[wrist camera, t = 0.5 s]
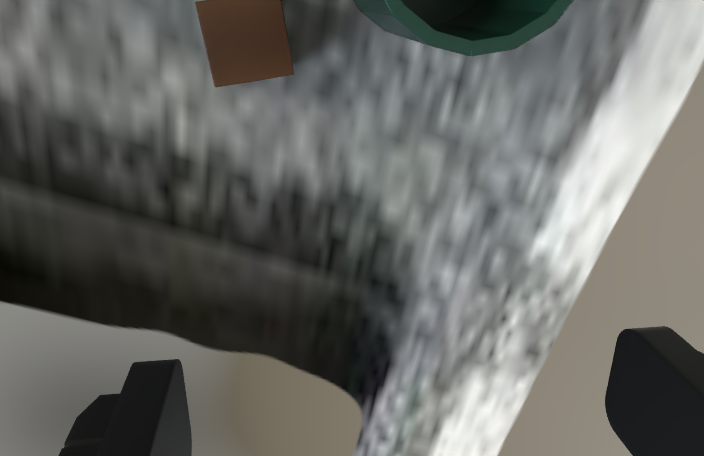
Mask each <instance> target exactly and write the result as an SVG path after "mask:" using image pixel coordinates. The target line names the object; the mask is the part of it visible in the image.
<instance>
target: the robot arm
mask: <svg viewBox="0 0 704 456" xmlns="http://www.w3.org/2000/svg"><path fill="white" fill-rule="evenodd" d="M605 407H606V413H607V417H608V420H609V422H610V425H611V427H612V428H613V430H614V432H615V433H616V434H617V436H618V437H619V438H620V440H621V441H622V442H623V444H624V445H625V446H626V448H627V449H628V450H629V451H630V453H631V454H632V455H633V456H704V354H703V353H701V352H699V351H697V350H696V349H694V348H693V347H692V346H691V345H690V344H689V343H687V342H686V341H685V340H684V339H683V338H682V337H680V336H679V335H678V334H677V333H676V332H674V331H673V330H672V329H671V328H668V327H665V326H662V327H648V328H633V329H625V330H623V331H622V332H621V333H620V334H619V336H618V338H617V342H616V347H615V352H614V357H613V362H612V367H611V371H610V376H609V381H608V387H607V391H606V397H605ZM191 450H192V439H191V427H190V420H189V412H188V405H187V398H186V391H185V383H184V376H183V369H182V364H181V362H180V360H179V359H174V360H160V361H146V362H134V363H133V364H132V366H131V368H130V371H129V373H128V376H127V378H126V381H125V383H124V386H123V388H122V391H121V393H120V394H109V395H100V396H99V397H98V398H97V399H96V400H95V401H94V402H93V403H92V404H90V405H89V406H88V407H87V408H86V409H85V410H84V411H83V412H82V413H81V414H80V415H79V416H78V417H77V418H76V420H75V423H74V425H73V427H72V429H71V431H70V433H69V435H68V437H67V439H66V441H65V447H64V448H62V450H61V452H60V454H59V456H191V452H192V451H191Z"/></svg>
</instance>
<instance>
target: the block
mask: <svg viewBox="0 0 704 456" xmlns="http://www.w3.org/2000/svg"><path fill="white" fill-rule="evenodd" d="M195 4H196V8H197V13H198V17H199V21H200V26H201V30H202V34H203V39H204V43H205V47H206V51H207V56H208V60H209V64H210V69H211V73H212V77H213V82H214V86H215V87H221V86H227V85H233V84H239V83H245V82H251V81H258V80H264V79H270V78H276V77H282V76H288V75H293V74H294V71H293V65H292V60H291V54H290V48H289V43H288V37H287V32H286V26H285V20H284V15H283V9H282V3H281V0H205V1H199V2H195Z"/></svg>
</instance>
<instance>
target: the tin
mask: <svg viewBox="0 0 704 456" xmlns="http://www.w3.org/2000/svg"><path fill="white" fill-rule="evenodd" d="M353 1H354V2H355V4H356V5H357V7H358V9H359V10H360V11H361V12H362V13H363V14H365V15H366V16H367V17H368V18H369V19H370V20H371V21H372V22H374V23H375V24H377V25H378V26H379V27H381V28H382V29H383V30H384V31H386V32H389V33H392V34H396V35H399V36H402V37H405V38H408V39H411V40H414V41H417V42H420V43H423V44H427V45H430V46H433V47H437V48H441V49H445V50H448V51H452V52H456V53H460V54H463V55H467V56H476V55H482V54H488V53H494V52H500V51H506V50H512V49H516V48H517V47H519V46H521V45H522V44H524V43H526V42H527V41H529V40H530V39H532V38H534V37H535V36H537V35H539V34H540V33H542V32H543V31H545V30H547V29H548V28H550V27H552V26H553V25H554V24H555V23H556V22H557V21H558V20H559V18H560V17H561V16H562V15H563V13H564V12H565V11H566V10H567V8H568V7H569V6H570V5H571V3H572V2H573V1H574V0H353Z"/></svg>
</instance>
